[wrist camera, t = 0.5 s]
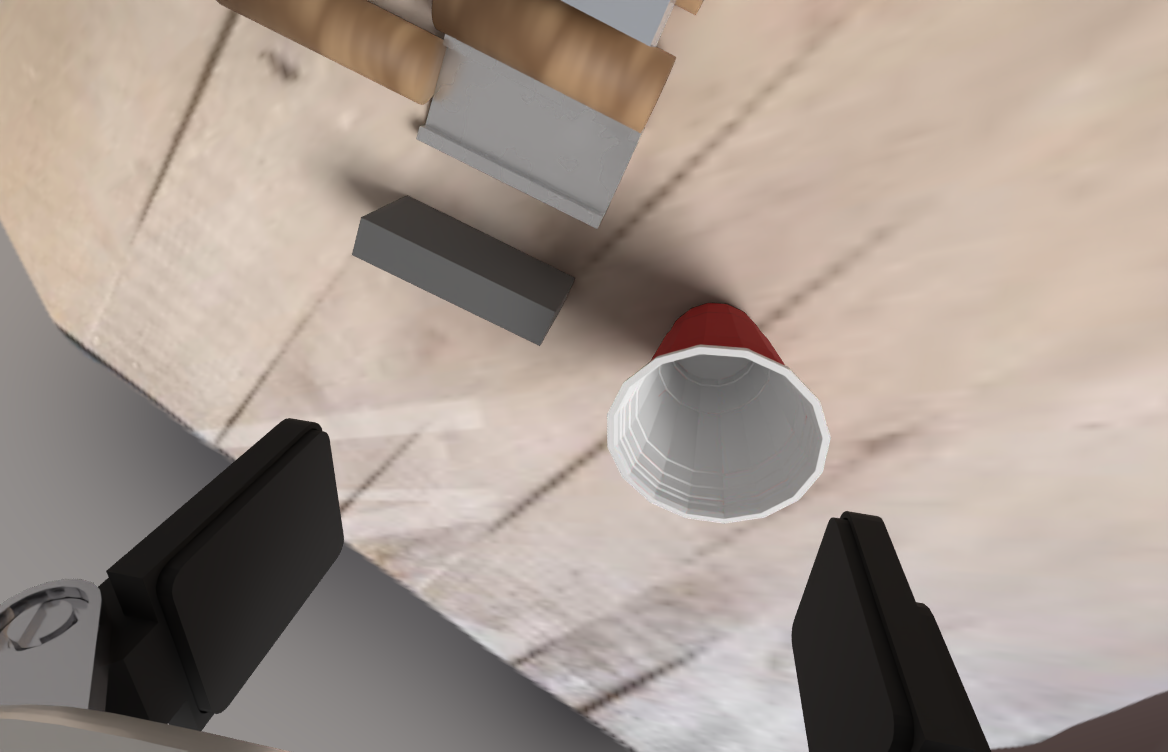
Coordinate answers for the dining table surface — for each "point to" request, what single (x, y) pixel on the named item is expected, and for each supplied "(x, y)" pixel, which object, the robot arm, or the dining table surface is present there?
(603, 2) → the slab
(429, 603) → the dining table surface
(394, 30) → the roller
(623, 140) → the grey flat plate
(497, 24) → the roller bed
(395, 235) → the block
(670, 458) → the plastic cup
